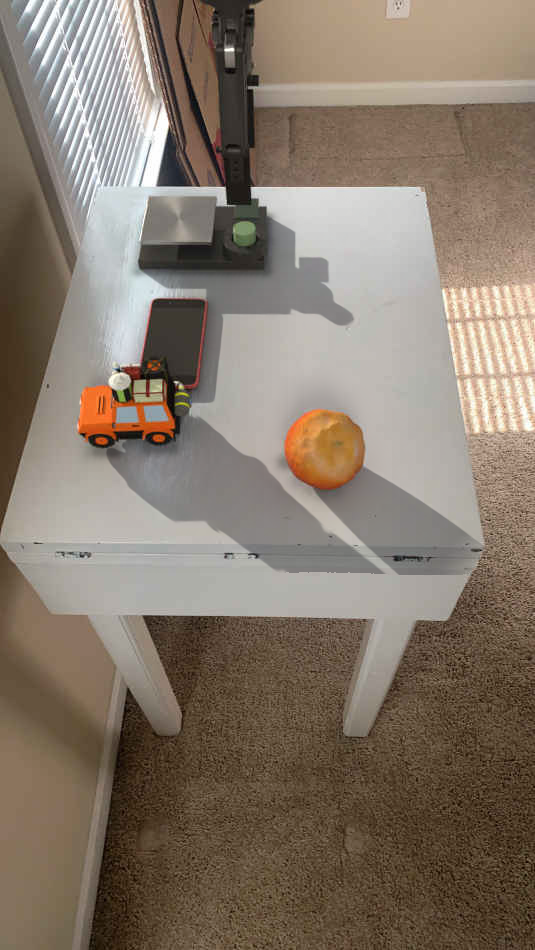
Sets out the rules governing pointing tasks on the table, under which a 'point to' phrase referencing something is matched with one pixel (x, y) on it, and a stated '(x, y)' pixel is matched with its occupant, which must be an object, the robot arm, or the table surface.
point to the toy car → (134, 405)
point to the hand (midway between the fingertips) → (241, 173)
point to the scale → (212, 248)
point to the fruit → (324, 449)
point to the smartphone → (177, 336)
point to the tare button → (244, 233)
